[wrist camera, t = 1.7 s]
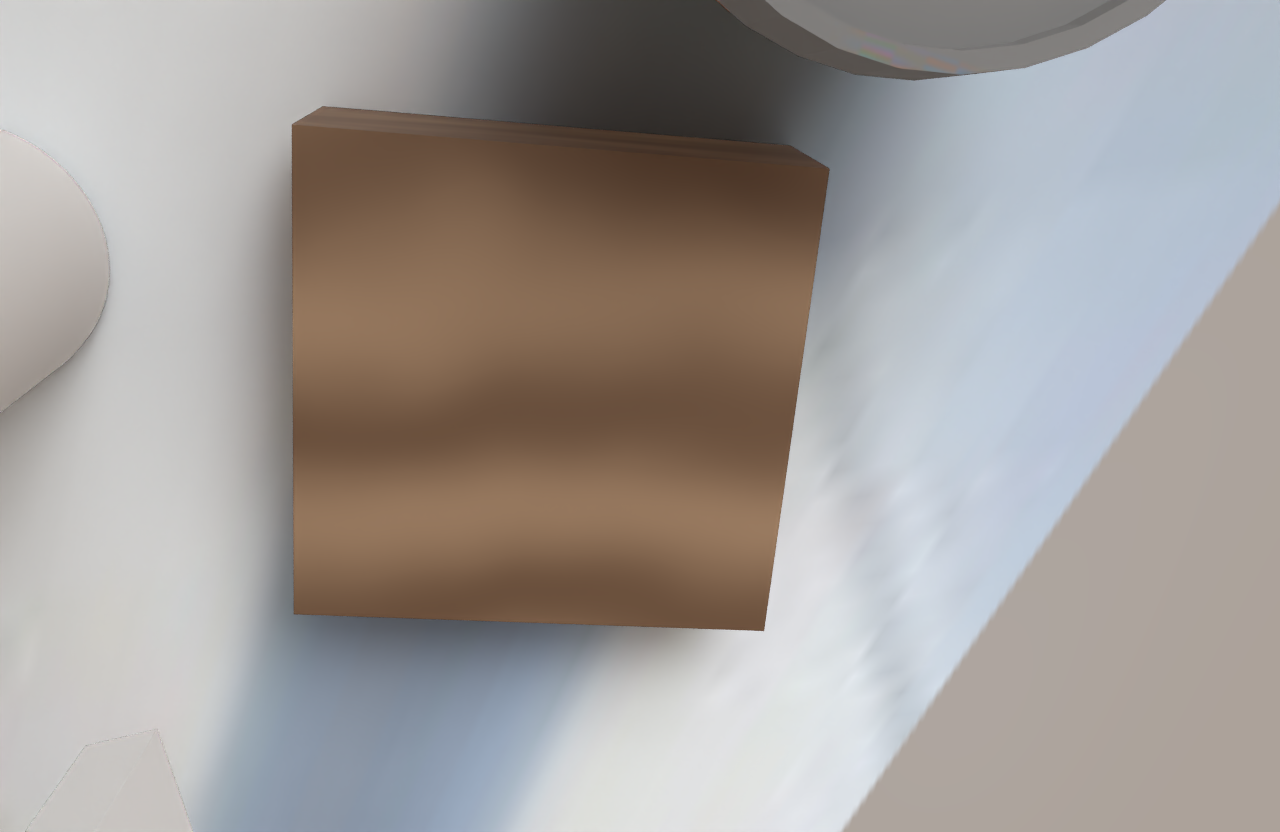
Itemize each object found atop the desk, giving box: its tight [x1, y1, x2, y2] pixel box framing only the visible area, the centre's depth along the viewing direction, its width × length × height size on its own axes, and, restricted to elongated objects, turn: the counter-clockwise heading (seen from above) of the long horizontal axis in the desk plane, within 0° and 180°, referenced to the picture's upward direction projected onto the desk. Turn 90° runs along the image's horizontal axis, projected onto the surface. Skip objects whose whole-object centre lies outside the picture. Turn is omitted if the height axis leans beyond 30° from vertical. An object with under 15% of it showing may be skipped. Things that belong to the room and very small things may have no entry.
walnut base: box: [292, 106, 829, 631], centre depth 36 cm, size 14×14×5 cm
